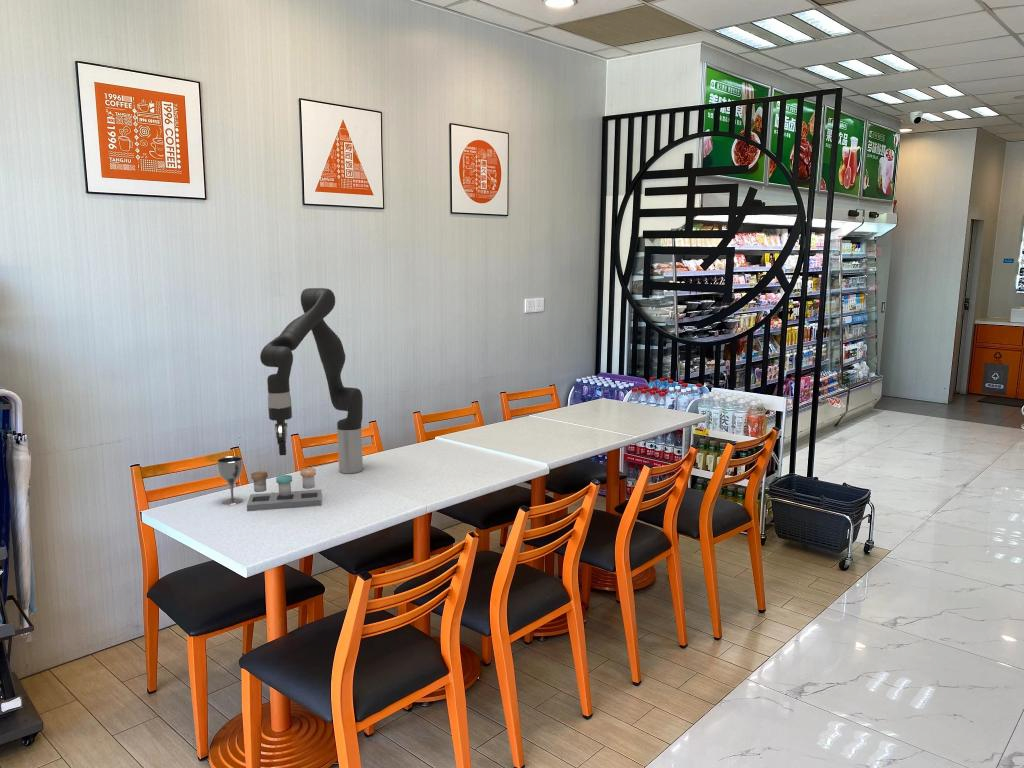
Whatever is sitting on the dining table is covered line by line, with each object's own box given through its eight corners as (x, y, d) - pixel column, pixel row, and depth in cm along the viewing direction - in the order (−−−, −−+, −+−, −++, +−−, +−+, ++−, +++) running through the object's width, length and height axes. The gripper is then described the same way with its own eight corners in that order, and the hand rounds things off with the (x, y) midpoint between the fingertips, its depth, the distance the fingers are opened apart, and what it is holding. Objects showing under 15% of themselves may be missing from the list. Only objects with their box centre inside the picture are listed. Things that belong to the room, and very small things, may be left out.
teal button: (277, 492, 266) (276, 475, 265) (293, 491, 267) (292, 474, 266) (276, 496, 261) (275, 479, 260) (292, 495, 262) (291, 478, 261)
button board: (250, 499, 268) (250, 494, 267) (321, 494, 273) (321, 489, 273) (247, 511, 256) (246, 505, 256) (321, 505, 262) (320, 499, 261)
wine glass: (216, 504, 263) (212, 462, 261) (227, 497, 271) (224, 456, 268) (237, 505, 262) (235, 462, 260) (248, 498, 270) (246, 456, 267)
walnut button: (253, 488, 264) (252, 471, 263) (268, 487, 265) (267, 470, 264) (251, 493, 259) (250, 476, 258) (267, 492, 260) (266, 475, 259)
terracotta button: (301, 485, 268) (300, 468, 267) (316, 484, 269) (315, 467, 268) (300, 489, 263) (299, 472, 262) (316, 488, 264) (315, 471, 263)
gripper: (269, 401, 264) (272, 450, 267) (266, 409, 252) (270, 460, 255) (292, 400, 266) (295, 449, 269) (290, 408, 253) (293, 459, 256)
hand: (282, 454), depth 262 cm, fingers closed
